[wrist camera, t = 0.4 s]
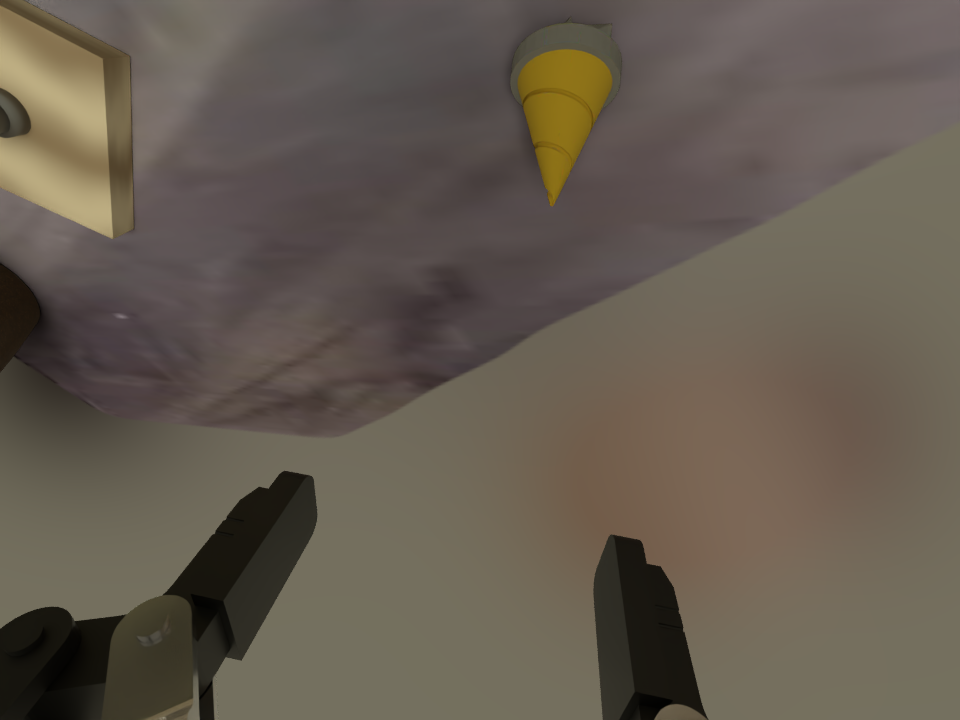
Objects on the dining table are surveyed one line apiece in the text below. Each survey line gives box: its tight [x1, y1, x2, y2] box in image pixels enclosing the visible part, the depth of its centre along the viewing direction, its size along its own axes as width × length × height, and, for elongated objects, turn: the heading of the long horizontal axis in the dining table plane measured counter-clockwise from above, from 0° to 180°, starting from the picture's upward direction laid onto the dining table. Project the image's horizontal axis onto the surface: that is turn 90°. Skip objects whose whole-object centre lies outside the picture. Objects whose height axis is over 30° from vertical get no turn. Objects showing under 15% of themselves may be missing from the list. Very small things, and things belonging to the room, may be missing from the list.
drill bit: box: [510, 17, 622, 206], centre depth 22 cm, size 5×5×10 cm
